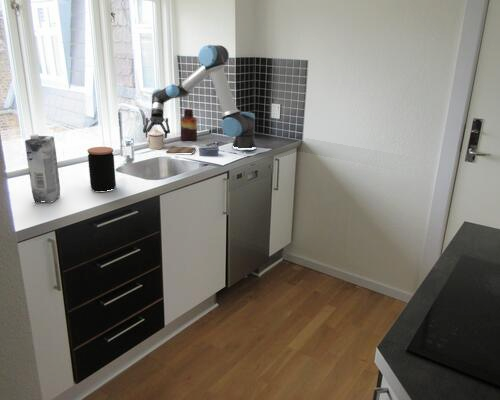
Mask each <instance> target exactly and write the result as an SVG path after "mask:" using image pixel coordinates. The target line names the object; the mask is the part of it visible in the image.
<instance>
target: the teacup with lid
mask: <svg viewBox="0 0 500 400" xmlns="http://www.w3.org/2000/svg"><path fill="white" fill-rule="evenodd" d="M163 136H164V132H161V131H160V130H158V129H157V128H155V129H154V130H152V131H151V132H149V143H148V144H149V145H148V147H149V149H151V150H154V151H155V150H163V149H164V148H165V147H164V144H165V143H164V142H163Z"/></svg>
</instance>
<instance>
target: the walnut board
mask: <svg viewBox="0 0 500 400" xmlns="http://www.w3.org/2000/svg"><path fill="white" fill-rule="evenodd" d="M195 148H196V147H192V146H191V147H190V146H173V145H171V146H170V148H168V150H166V154H167V153H192V152H193V151H194V150H195ZM195 151H196V150H195ZM195 151H194V152H195Z"/></svg>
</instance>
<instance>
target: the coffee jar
mask: <svg viewBox="0 0 500 400" xmlns="http://www.w3.org/2000/svg"><path fill="white" fill-rule="evenodd" d="M113 152H114V149H113V148H112V147H108V146H95V147H94V146H93V147H90V148H88V149H87V153H88V154H87V159H88V160H87V162H88V171H89V183H90V188H91V190H92V191H93V190H94V192H95V191H107V190H111V189H114V190H115V188H116V187H117V185H116V183H117V182H116V170H115V167H116V166H115V156H114V153H113Z"/></svg>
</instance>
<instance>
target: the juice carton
mask: <svg viewBox="0 0 500 400" xmlns="http://www.w3.org/2000/svg"><path fill="white" fill-rule="evenodd" d="M29 138H30V139H29ZM29 138H28V139H26V140H25V141H24V143H25V152H26V159H27V165H28V174H29V179H30V187H31V194H32V198H33V201H35V202H34V203H36V202H41V201H45V202H51V201H54V200H55V199H56V198H57V197H58V196H59V197H60V195H61V184H60V177H59V174H60V173H59V165H58V158H57V149H56V142H55V136H49V135H39V134H36V133H34V134H30V135H29ZM59 197H58V198H59ZM58 198H57V199H58ZM57 199H56V200H57ZM56 200H55V201H56ZM55 201H54V202H55Z"/></svg>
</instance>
